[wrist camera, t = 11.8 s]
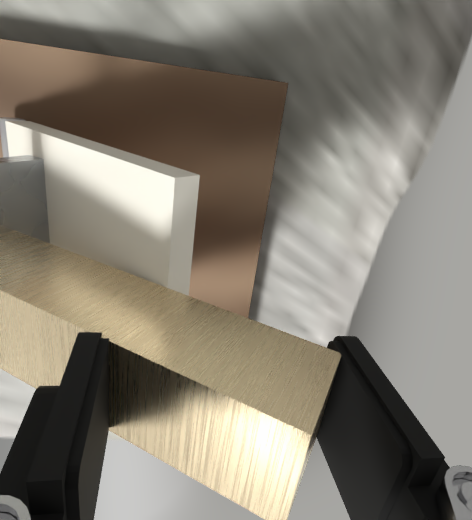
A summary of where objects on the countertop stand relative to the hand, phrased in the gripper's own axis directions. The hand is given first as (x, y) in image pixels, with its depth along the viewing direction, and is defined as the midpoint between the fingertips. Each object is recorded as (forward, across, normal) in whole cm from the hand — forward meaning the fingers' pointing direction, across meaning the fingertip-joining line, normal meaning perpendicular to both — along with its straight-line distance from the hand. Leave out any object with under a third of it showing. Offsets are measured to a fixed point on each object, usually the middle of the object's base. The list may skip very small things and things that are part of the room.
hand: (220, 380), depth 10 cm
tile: (+11, +8, 0) cm, 13 cm away
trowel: (+6, +9, 0) cm, 10 cm away
